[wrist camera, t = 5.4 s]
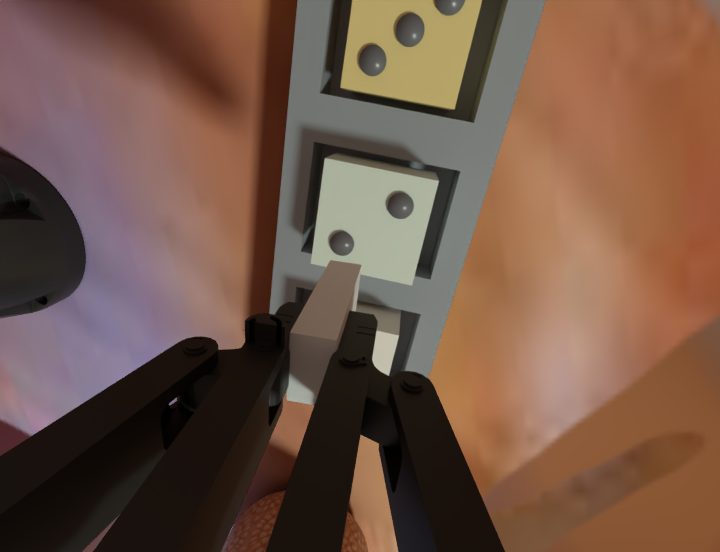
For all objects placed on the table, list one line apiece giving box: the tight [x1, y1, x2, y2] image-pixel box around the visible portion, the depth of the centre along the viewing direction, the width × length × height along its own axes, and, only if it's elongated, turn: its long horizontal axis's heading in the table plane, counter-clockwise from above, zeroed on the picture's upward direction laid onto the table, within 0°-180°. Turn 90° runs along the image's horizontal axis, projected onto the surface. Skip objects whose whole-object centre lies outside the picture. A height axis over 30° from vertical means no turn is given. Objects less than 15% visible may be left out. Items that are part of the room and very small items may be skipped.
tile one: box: [356, 300, 401, 376], centre depth 30 cm, size 7×7×4 cm
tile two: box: [311, 153, 439, 286], centre depth 26 cm, size 7×7×4 cm
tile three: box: [340, 0, 482, 111], centre depth 23 cm, size 7×7×4 cm
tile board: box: [269, 0, 546, 378], centre depth 29 cm, size 14×34×4 cm, turn 170°
